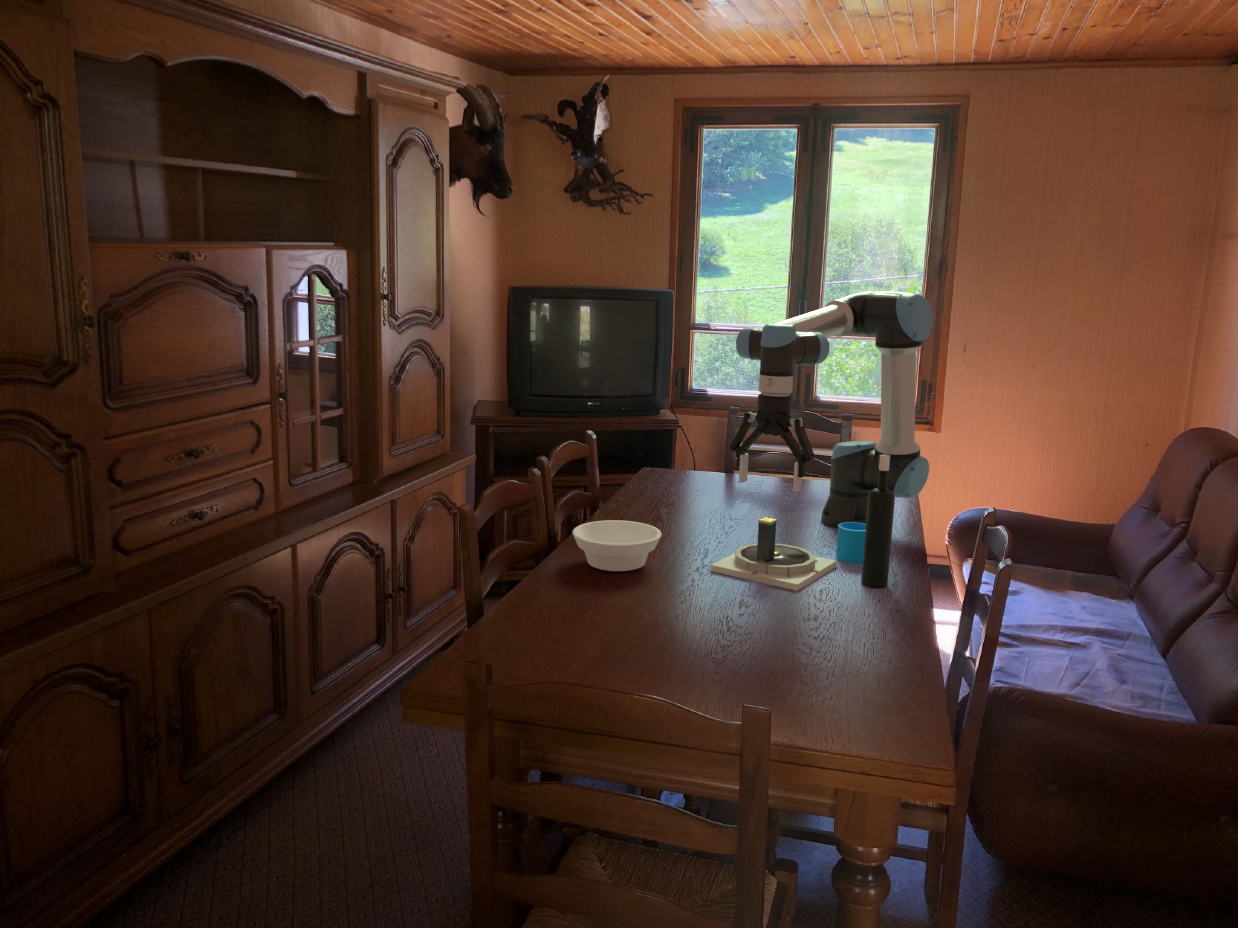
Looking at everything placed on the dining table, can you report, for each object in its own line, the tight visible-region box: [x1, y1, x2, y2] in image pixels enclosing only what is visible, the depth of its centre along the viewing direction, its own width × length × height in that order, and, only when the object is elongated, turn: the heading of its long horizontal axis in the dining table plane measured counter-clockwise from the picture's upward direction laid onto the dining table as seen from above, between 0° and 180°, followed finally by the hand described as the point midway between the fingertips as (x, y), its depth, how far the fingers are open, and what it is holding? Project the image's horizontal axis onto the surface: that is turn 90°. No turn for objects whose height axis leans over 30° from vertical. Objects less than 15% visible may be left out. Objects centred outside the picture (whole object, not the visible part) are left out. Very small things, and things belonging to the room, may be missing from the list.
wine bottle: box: [860, 454, 896, 589], centre depth 215 cm, size 6×6×30 cm
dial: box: [745, 516, 805, 566], centre depth 226 cm, size 14×14×11 cm
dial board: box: [710, 543, 837, 592], centre depth 227 cm, size 22×22×4 cm
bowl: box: [572, 519, 663, 572], centre depth 227 cm, size 21×21×8 cm
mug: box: [835, 522, 866, 564], centre depth 238 cm, size 12×8×8 cm
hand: (769, 486), depth 219 cm, fingers open, 13 cm apart
